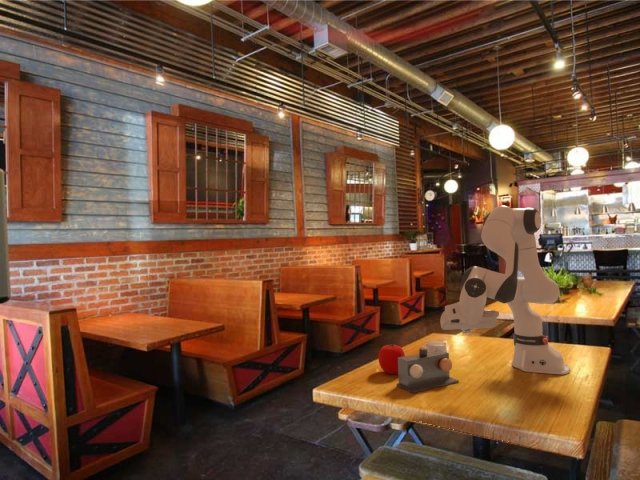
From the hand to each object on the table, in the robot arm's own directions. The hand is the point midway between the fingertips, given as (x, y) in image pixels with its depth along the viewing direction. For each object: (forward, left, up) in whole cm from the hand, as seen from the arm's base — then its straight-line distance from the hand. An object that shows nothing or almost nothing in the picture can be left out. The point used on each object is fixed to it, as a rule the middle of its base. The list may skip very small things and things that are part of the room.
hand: (466, 331), depth 169 cm
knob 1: (+19, +11, -17) cm, 28 cm away
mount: (+14, +5, -21) cm, 26 cm away
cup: (+17, -12, -21) cm, 30 cm away
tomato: (+33, -1, -21) cm, 39 cm away
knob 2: (+12, -2, -17) cm, 21 cm away
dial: (+16, +4, -10) cm, 20 cm away
